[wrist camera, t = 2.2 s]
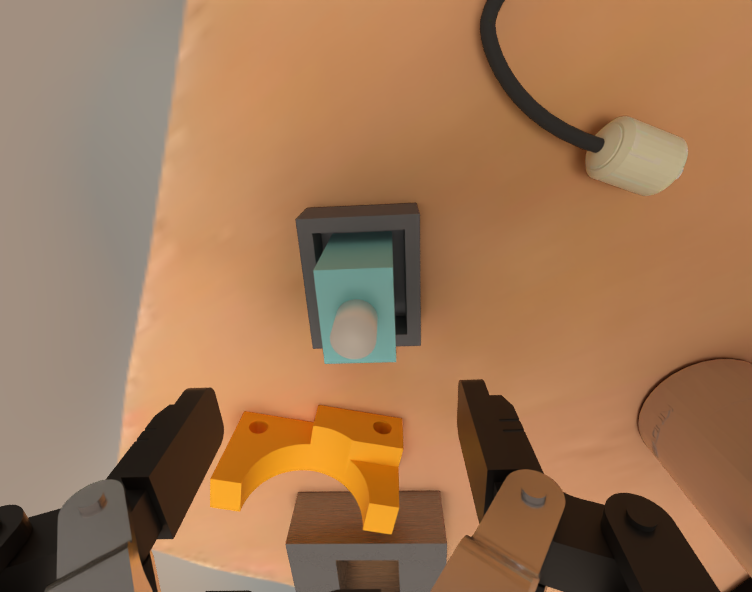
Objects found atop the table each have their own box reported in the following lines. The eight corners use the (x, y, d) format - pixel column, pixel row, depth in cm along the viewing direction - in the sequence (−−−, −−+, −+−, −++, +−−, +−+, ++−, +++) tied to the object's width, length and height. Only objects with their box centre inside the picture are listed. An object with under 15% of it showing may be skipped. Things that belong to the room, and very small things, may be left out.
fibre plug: (392, 231, 24) (392, 284, 16) (394, 306, 26) (396, 386, 18) (332, 233, 24) (304, 287, 16) (339, 308, 26) (318, 388, 18)
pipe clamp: (402, 417, 30) (404, 488, 24) (391, 458, 32) (391, 534, 26) (246, 391, 30) (210, 458, 24) (243, 435, 32) (210, 507, 26)
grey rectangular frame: (416, 202, 24) (419, 213, 21) (417, 321, 27) (420, 345, 24) (306, 207, 24) (295, 219, 21) (321, 325, 27) (312, 348, 24)
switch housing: (439, 490, 33) (446, 543, 29) (438, 567, 37) (444, 623, 33) (298, 492, 34) (285, 543, 30) (312, 567, 38) (302, 622, 34)
